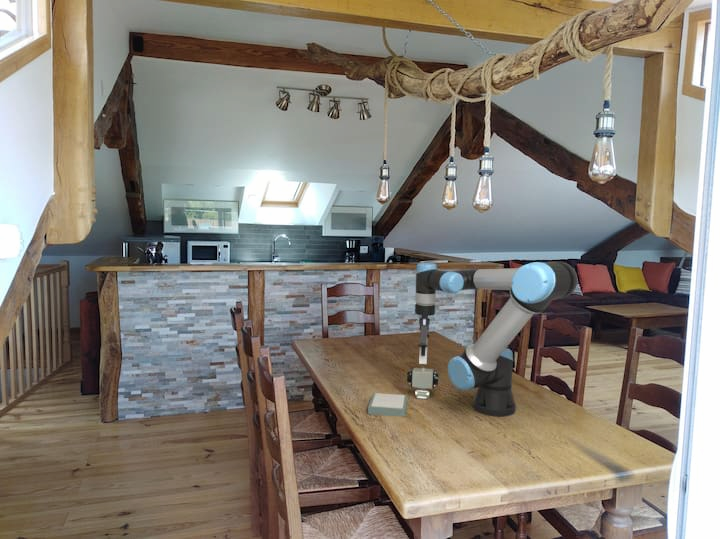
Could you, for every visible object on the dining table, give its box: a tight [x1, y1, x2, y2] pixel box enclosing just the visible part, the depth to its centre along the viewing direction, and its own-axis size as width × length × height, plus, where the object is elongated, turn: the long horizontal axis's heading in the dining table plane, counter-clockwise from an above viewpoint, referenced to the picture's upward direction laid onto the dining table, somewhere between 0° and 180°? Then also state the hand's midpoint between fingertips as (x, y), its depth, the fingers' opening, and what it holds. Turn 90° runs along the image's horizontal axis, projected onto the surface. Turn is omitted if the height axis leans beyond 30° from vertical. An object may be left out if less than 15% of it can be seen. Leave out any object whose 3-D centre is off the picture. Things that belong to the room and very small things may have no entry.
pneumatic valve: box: [406, 366, 440, 400], centre depth 198 cm, size 6×12×12 cm, turn 78°
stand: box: [367, 392, 409, 418], centre depth 187 cm, size 13×15×3 cm
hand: (423, 358), depth 197 cm, fingers open, 13 cm apart
